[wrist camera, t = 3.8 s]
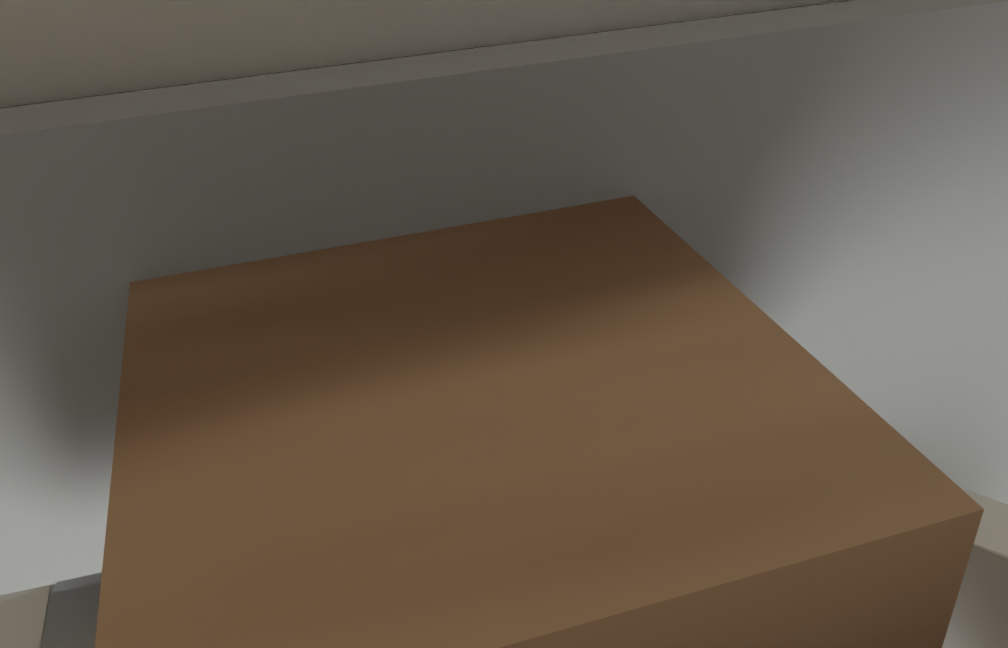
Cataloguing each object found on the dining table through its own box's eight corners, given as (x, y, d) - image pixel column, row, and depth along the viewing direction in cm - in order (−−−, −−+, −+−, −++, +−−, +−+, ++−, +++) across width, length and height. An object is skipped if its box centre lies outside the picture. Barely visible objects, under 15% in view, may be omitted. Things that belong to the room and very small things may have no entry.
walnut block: (130, 282, 8) (83, 767, 4) (633, 196, 9) (985, 507, 5) (238, 647, 11) (273, 1169, 7) (623, 544, 12) (854, 936, 8)
